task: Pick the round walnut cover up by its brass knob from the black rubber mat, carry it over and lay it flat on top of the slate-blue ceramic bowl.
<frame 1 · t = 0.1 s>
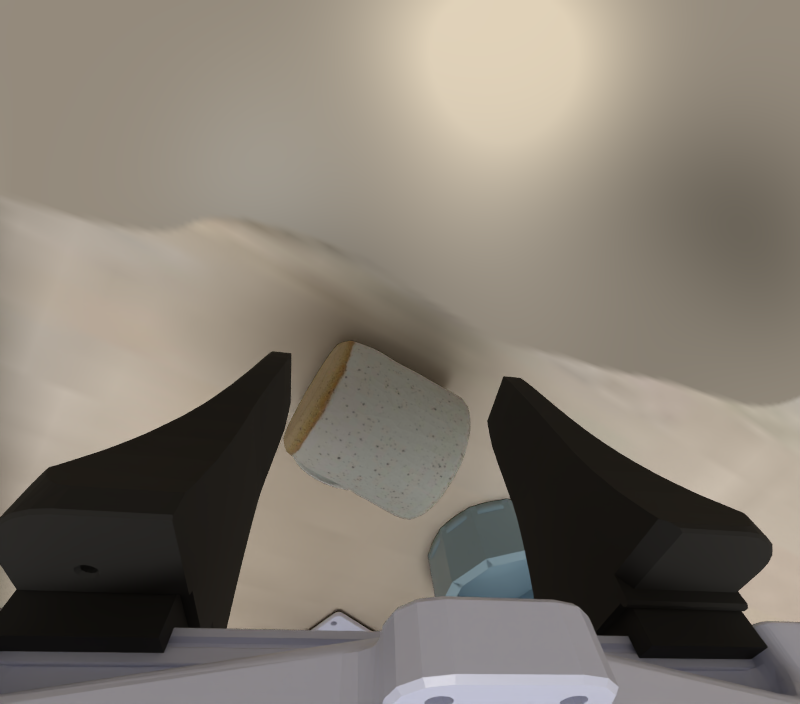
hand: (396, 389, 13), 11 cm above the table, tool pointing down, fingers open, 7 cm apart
slate-blue bowl: (496, 553, 31), on the table
ceramic mug: (367, 409, 25), on the table
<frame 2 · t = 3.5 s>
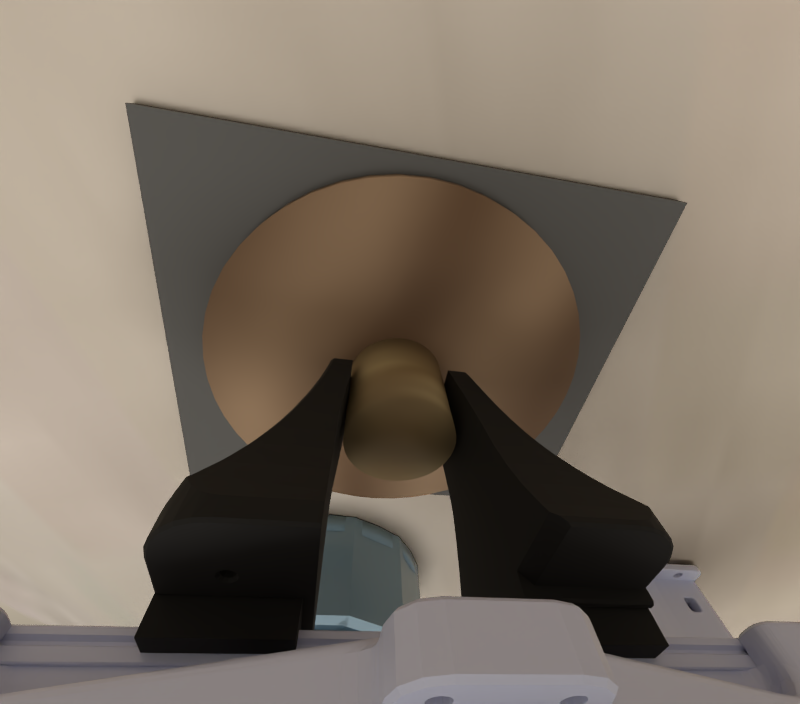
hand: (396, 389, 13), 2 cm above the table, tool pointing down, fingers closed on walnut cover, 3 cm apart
slate-blue bowl: (320, 575, 22), on the table
walnut cover: (394, 365, 14), resting on rubber mat, touching gripper
rubber mat: (394, 359, 15), on the table
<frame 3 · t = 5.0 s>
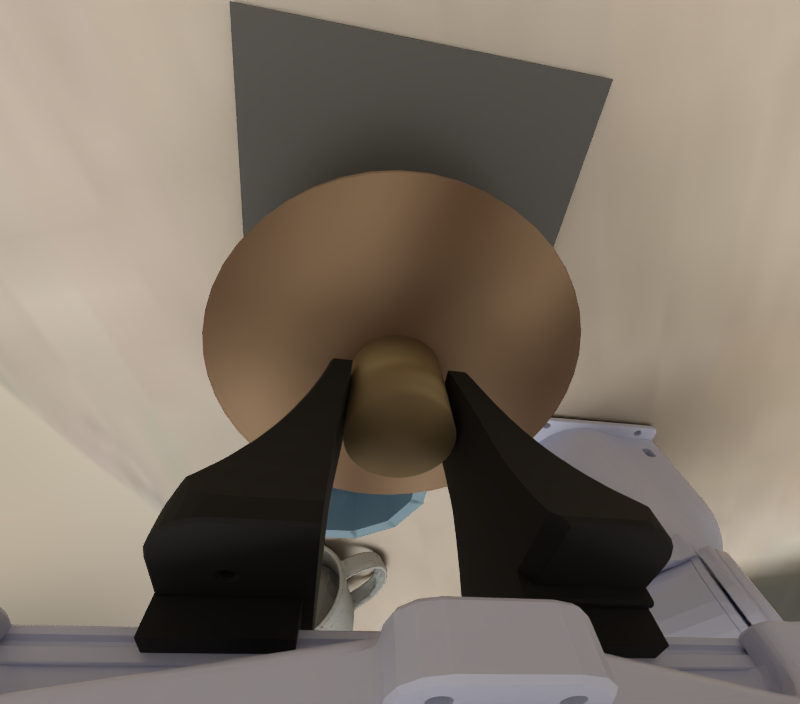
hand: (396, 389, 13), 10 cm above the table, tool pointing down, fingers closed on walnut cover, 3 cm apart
slate-blue bowl: (344, 431, 27), on the table
ceramic mug: (327, 560, 35), on the table
walnut cover: (394, 362, 14), point 8 cm above the table, touching gripper
rubber mat: (405, 216, 19), on the table
when the fingers open (7 cm above the table, at t = 6.7 s): walnut cover stays where it is, resting on slate-blue bowl.
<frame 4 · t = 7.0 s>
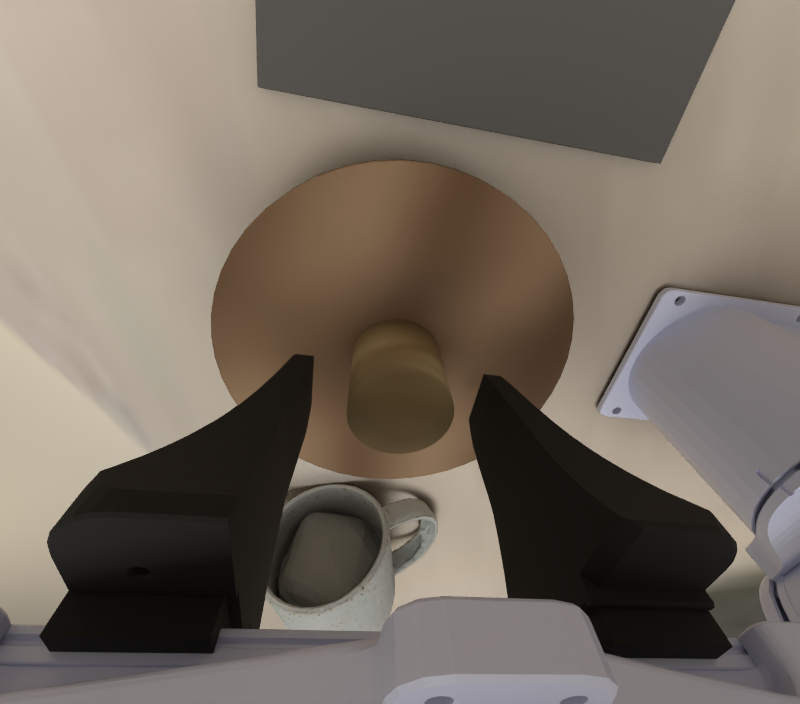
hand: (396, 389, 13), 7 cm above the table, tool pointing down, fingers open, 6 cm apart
ceramic mug: (357, 512, 27), on the table
walnut cover: (395, 347, 15), point 4 cm above the table, touching slate-blue bowl
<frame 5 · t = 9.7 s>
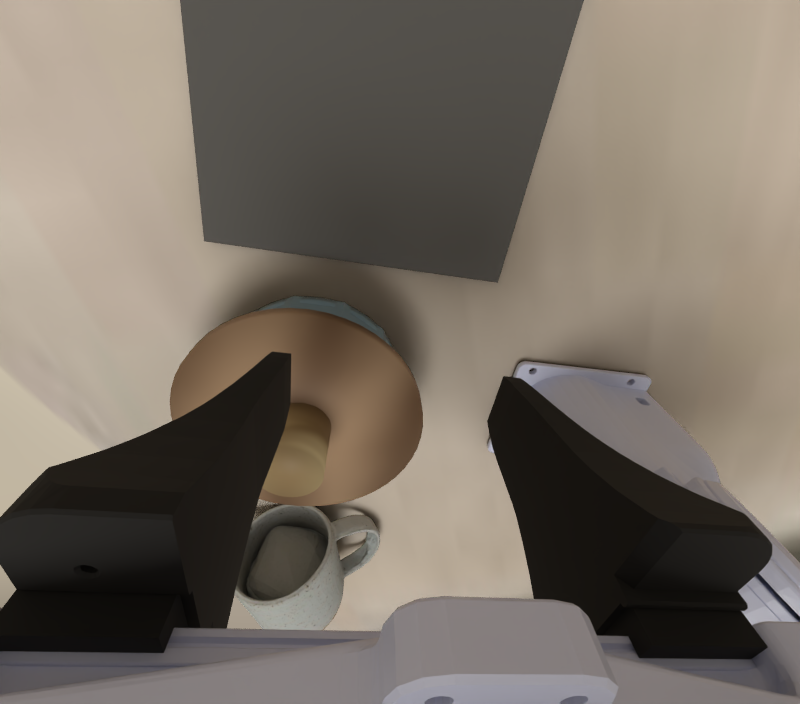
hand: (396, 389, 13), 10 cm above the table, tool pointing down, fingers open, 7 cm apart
slate-blue bowl: (314, 375, 25), on the table
ceramic mug: (316, 525, 33), on the table
walnut cover: (303, 416, 21), point 4 cm above the table, touching slate-blue bowl
rubber mat: (373, 113, 18), on the table
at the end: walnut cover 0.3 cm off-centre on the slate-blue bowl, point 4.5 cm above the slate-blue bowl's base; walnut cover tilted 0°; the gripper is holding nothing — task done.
